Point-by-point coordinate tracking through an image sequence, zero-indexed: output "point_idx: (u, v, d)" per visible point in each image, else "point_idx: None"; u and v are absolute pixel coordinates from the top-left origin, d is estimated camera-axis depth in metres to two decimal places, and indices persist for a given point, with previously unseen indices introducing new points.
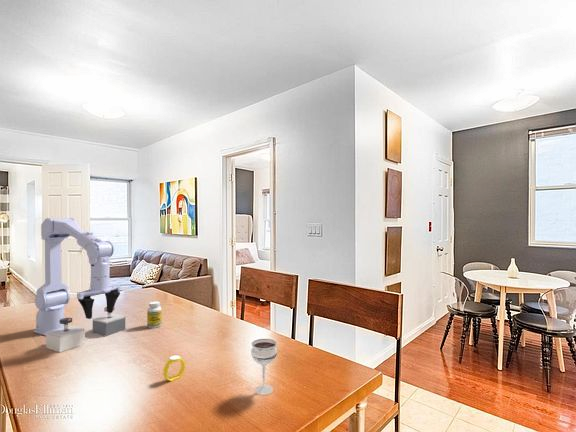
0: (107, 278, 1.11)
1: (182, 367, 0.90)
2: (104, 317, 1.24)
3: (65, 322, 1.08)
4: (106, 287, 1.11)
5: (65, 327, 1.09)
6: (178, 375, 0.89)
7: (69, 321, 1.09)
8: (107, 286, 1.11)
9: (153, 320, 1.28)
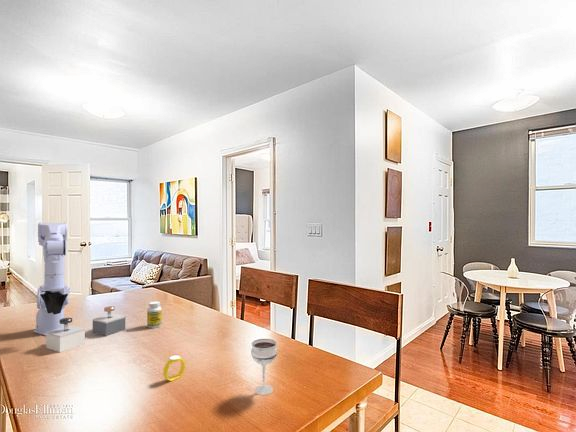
0: (47, 277, 1.10)
1: (182, 367, 0.90)
2: (104, 317, 1.24)
3: (65, 322, 1.08)
4: (46, 286, 1.10)
5: (65, 327, 1.09)
6: (178, 375, 0.89)
7: (69, 321, 1.09)
8: (47, 285, 1.10)
9: (153, 320, 1.28)
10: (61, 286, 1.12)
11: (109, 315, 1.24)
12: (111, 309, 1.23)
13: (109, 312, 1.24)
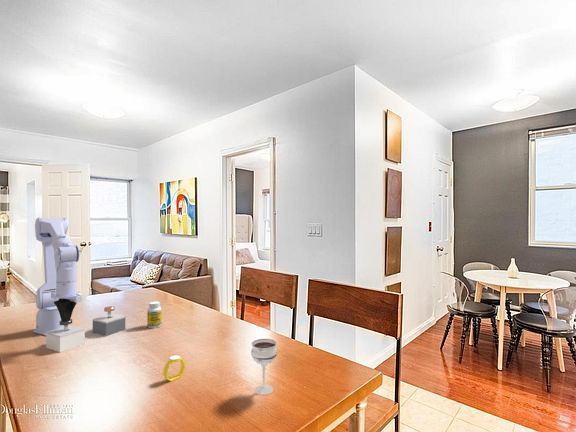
0: (58, 285, 1.07)
1: (182, 367, 0.90)
2: (104, 317, 1.24)
3: (65, 323, 1.08)
4: (58, 293, 1.07)
5: (65, 328, 1.09)
6: (178, 375, 0.89)
7: (69, 322, 1.09)
8: (59, 293, 1.07)
9: (153, 320, 1.28)
10: (73, 293, 1.09)
11: (109, 315, 1.24)
12: (111, 309, 1.23)
13: (109, 312, 1.24)
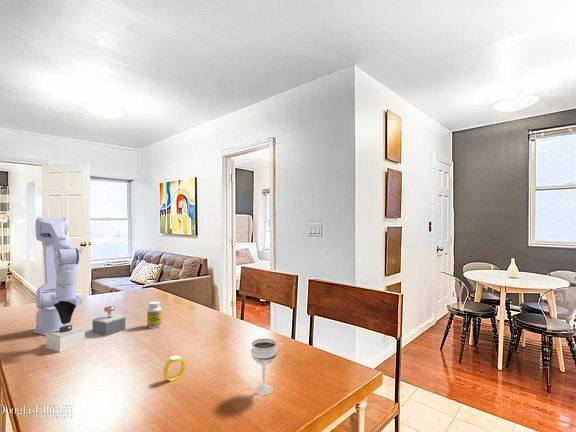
0: (58, 287, 1.07)
1: (182, 367, 0.90)
2: (104, 317, 1.24)
3: (65, 330, 1.08)
4: (58, 296, 1.07)
5: None
6: (178, 375, 0.89)
7: (69, 329, 1.09)
8: (59, 295, 1.07)
9: (153, 320, 1.28)
10: (73, 296, 1.09)
11: (109, 315, 1.24)
12: (111, 309, 1.23)
13: (109, 312, 1.24)
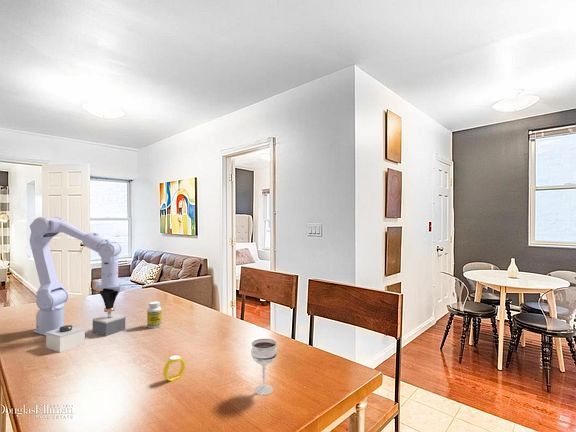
0: (104, 276, 1.22)
1: (182, 367, 0.90)
2: (104, 317, 1.24)
3: (65, 330, 1.08)
4: (103, 284, 1.22)
5: None
6: (178, 375, 0.89)
7: (69, 329, 1.09)
8: (104, 283, 1.22)
9: (153, 320, 1.28)
10: (116, 284, 1.24)
11: (109, 316, 1.24)
12: (111, 310, 1.23)
13: (109, 313, 1.24)
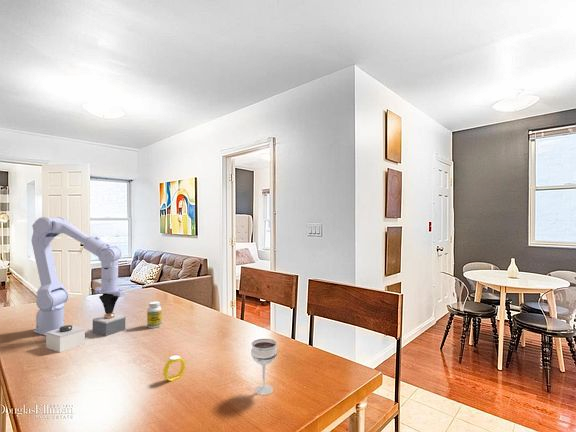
0: (104, 281, 1.22)
1: (182, 367, 0.90)
2: None
3: (65, 330, 1.08)
4: (103, 289, 1.22)
5: None
6: (178, 375, 0.89)
7: (69, 329, 1.09)
8: (104, 288, 1.22)
9: (153, 320, 1.28)
10: (116, 289, 1.24)
11: None
12: (111, 316, 1.23)
13: None
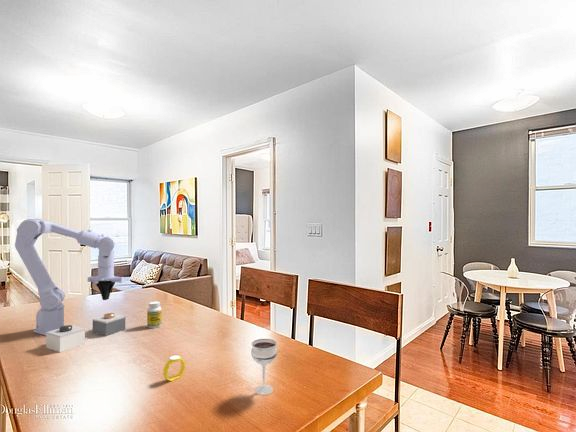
0: (103, 269, 1.29)
1: (182, 367, 0.90)
2: None
3: (65, 330, 1.08)
4: (102, 276, 1.29)
5: None
6: (178, 375, 0.89)
7: (69, 329, 1.09)
8: (104, 276, 1.29)
9: (153, 320, 1.28)
10: (113, 276, 1.32)
11: None
12: (111, 316, 1.23)
13: None
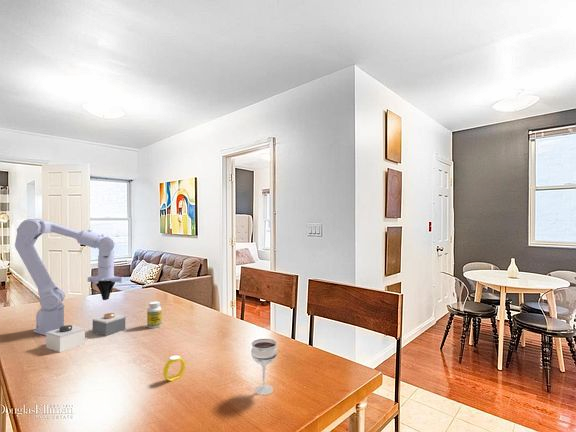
0: (103, 269, 1.29)
1: (182, 367, 0.90)
2: None
3: (65, 330, 1.08)
4: (102, 276, 1.29)
5: None
6: (178, 375, 0.89)
7: (69, 329, 1.09)
8: (104, 276, 1.29)
9: (153, 320, 1.28)
10: (113, 276, 1.32)
11: None
12: (111, 316, 1.23)
13: None
